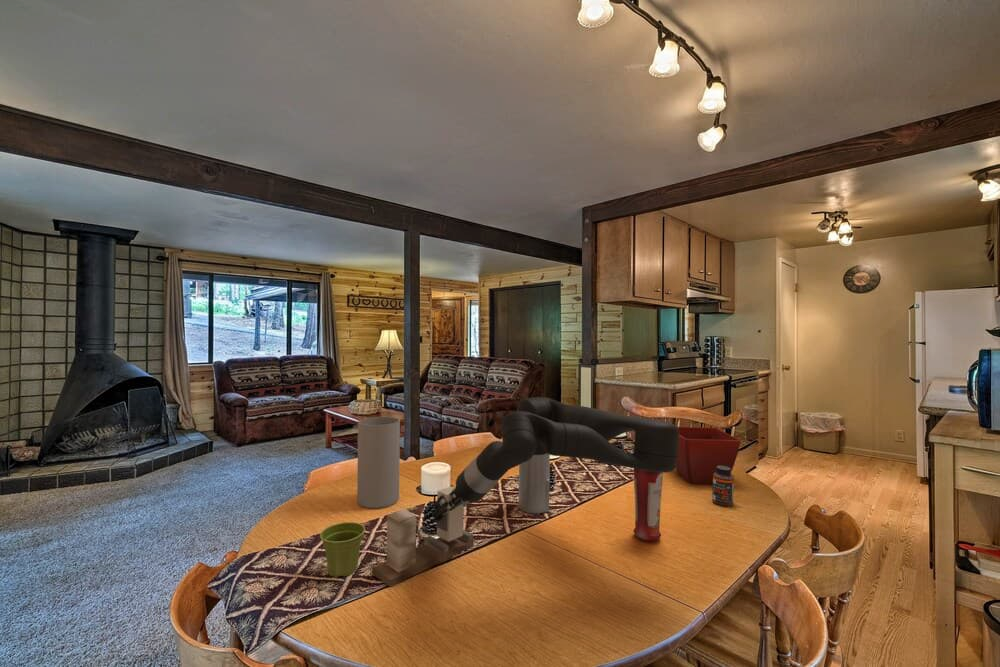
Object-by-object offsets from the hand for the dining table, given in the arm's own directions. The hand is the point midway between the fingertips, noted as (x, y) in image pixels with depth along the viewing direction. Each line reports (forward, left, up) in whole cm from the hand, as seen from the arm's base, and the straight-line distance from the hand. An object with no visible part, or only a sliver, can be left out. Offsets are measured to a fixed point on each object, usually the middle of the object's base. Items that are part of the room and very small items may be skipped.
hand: (444, 514), depth 109 cm
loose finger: (-2, +1, -5) cm, 5 cm away
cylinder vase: (+27, -24, -8) cm, 37 cm away
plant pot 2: (-81, -61, -8) cm, 102 cm away
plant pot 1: (+20, +14, -8) cm, 25 cm away
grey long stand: (+3, +7, -8) cm, 11 cm away
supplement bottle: (-80, -38, -8) cm, 89 cm away
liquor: (-51, -11, -8) cm, 53 cm away
